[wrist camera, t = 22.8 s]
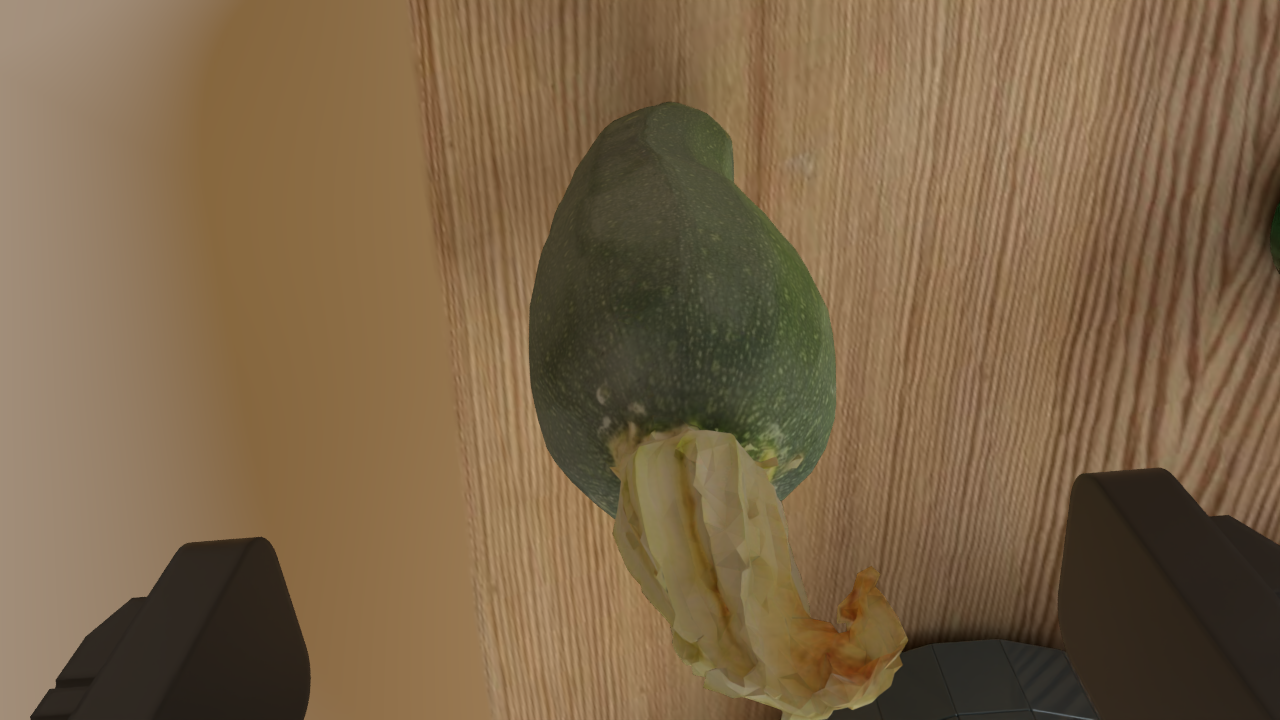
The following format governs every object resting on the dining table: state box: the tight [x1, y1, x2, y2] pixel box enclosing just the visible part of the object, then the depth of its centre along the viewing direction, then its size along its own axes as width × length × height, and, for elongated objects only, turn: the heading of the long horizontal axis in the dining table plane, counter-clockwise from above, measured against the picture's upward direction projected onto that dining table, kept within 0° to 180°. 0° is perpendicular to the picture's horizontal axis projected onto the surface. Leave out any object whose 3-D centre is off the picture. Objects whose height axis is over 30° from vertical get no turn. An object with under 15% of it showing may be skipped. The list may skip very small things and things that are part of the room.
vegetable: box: [529, 102, 908, 720], centre depth 17 cm, size 4×4×20 cm
